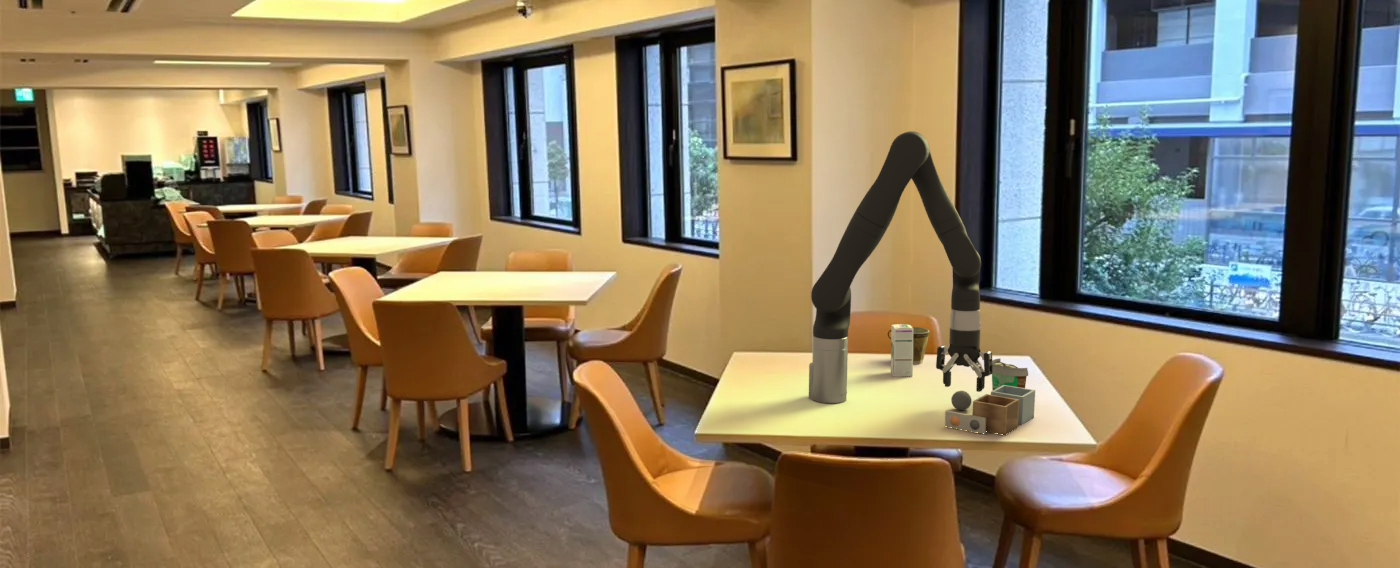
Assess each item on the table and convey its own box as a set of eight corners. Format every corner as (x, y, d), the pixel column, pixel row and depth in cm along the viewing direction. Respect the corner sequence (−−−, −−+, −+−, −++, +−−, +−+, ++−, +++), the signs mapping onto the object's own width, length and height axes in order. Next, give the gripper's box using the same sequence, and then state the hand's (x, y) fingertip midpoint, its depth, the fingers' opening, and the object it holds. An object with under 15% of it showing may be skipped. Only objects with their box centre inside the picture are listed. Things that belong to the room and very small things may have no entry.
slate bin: (989, 418, 253) (990, 391, 252) (1002, 411, 259) (1003, 384, 258) (1021, 424, 248) (1023, 397, 247) (1033, 417, 254) (1035, 390, 253)
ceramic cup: (932, 360, 314) (933, 329, 312) (921, 367, 305) (922, 334, 304) (892, 355, 321) (893, 324, 319) (880, 361, 312) (881, 330, 311)
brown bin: (971, 429, 244) (973, 401, 243) (985, 421, 251) (986, 394, 250) (1004, 435, 239) (1006, 407, 238) (1017, 427, 246) (1019, 399, 245)
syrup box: (913, 376, 294) (914, 327, 292) (892, 376, 294) (894, 327, 292) (909, 372, 300) (911, 323, 297) (889, 372, 300) (890, 323, 297)
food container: (978, 395, 274) (979, 359, 272) (997, 393, 276) (999, 357, 274) (1007, 407, 263) (1009, 370, 261) (1026, 405, 265) (1028, 368, 263)
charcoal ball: (947, 410, 260) (948, 391, 259) (955, 406, 264) (956, 387, 263) (966, 413, 257) (967, 394, 256) (974, 409, 261) (975, 390, 260)
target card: (944, 427, 246) (945, 411, 245) (946, 426, 247) (946, 410, 246) (984, 434, 240) (985, 418, 239) (985, 434, 241) (986, 417, 240)
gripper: (932, 325, 258) (931, 387, 261) (986, 332, 250) (984, 396, 252) (945, 321, 264) (943, 381, 267) (997, 327, 256) (996, 389, 258)
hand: (963, 388), depth 259 cm, fingers open, 8 cm apart
